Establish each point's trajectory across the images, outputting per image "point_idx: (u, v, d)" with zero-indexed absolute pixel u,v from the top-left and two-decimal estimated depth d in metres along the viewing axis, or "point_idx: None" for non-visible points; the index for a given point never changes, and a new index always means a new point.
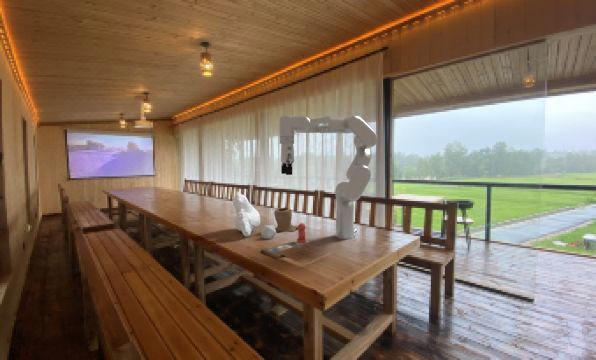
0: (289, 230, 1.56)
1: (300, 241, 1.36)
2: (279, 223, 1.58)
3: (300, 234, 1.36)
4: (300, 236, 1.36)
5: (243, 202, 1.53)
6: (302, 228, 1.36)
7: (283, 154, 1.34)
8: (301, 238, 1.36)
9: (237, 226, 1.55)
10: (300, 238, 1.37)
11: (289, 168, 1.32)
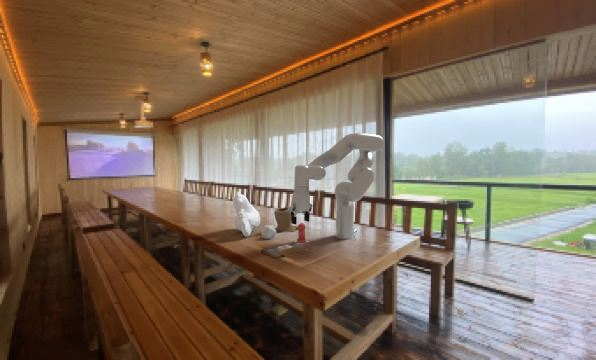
0: (289, 230, 1.56)
1: (300, 241, 1.36)
2: (279, 223, 1.58)
3: (300, 234, 1.36)
4: (300, 236, 1.36)
5: (243, 202, 1.53)
6: (302, 228, 1.36)
7: (307, 203, 1.37)
8: (301, 238, 1.36)
9: (237, 226, 1.55)
10: (300, 238, 1.37)
11: None
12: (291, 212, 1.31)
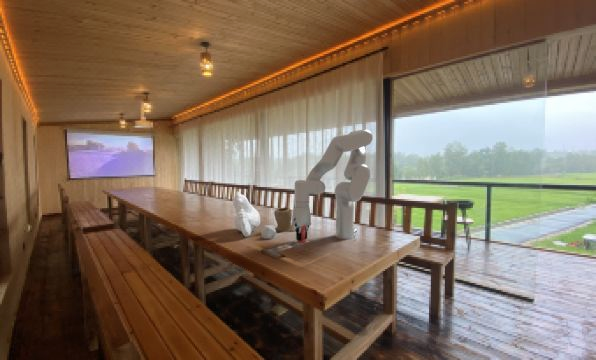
0: (289, 230, 1.56)
1: (300, 241, 1.36)
2: (279, 223, 1.58)
3: None
4: None
5: (243, 202, 1.53)
6: (302, 228, 1.36)
7: (308, 217, 1.37)
8: None
9: (237, 226, 1.55)
10: None
11: None
12: (296, 229, 1.34)
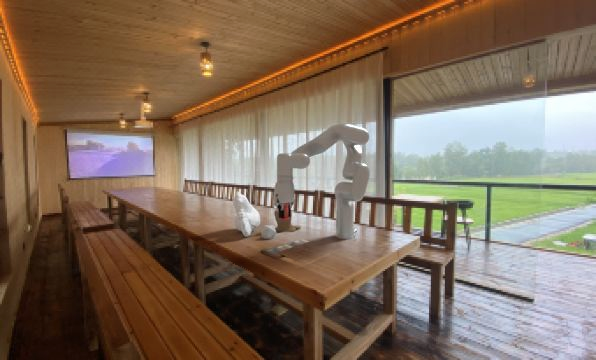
0: (289, 230, 1.56)
1: (283, 219, 1.26)
2: (279, 223, 1.57)
3: None
4: None
5: (243, 202, 1.53)
6: (285, 205, 1.26)
7: (291, 193, 1.28)
8: (284, 216, 1.27)
9: (237, 226, 1.55)
10: None
11: None
12: (278, 205, 1.24)
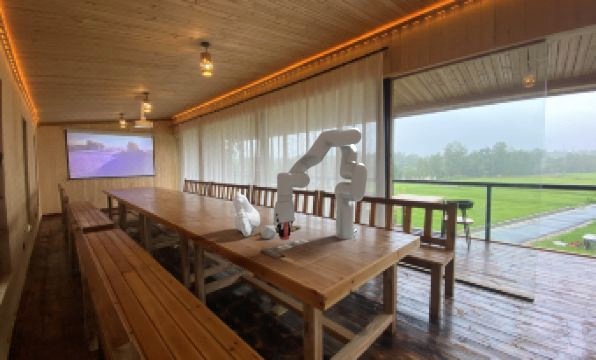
0: None
1: (282, 238, 1.27)
2: None
3: None
4: None
5: (243, 202, 1.53)
6: (285, 224, 1.27)
7: (291, 212, 1.28)
8: None
9: (237, 226, 1.55)
10: None
11: None
12: (278, 225, 1.24)
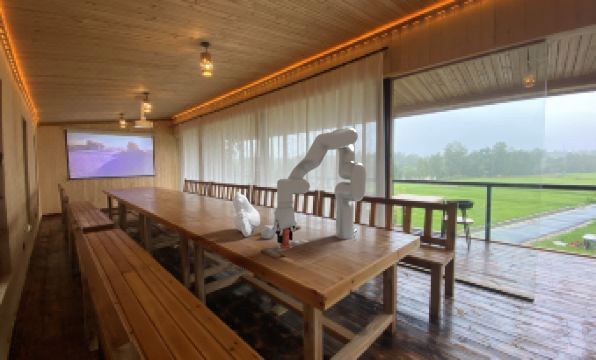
0: None
1: (283, 247, 1.27)
2: None
3: (283, 239, 1.28)
4: (283, 241, 1.28)
5: (243, 202, 1.53)
6: (285, 233, 1.27)
7: (291, 219, 1.29)
8: (284, 243, 1.28)
9: (237, 226, 1.55)
10: (283, 243, 1.28)
11: None
12: (276, 231, 1.24)
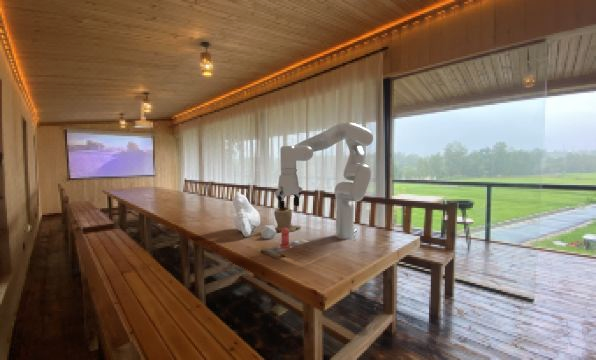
0: (289, 230, 1.56)
1: (283, 247, 1.27)
2: (279, 223, 1.58)
3: (283, 239, 1.28)
4: (283, 241, 1.28)
5: (243, 202, 1.53)
6: (285, 233, 1.27)
7: (295, 186, 1.28)
8: (284, 243, 1.28)
9: (237, 226, 1.55)
10: (283, 243, 1.28)
11: None
12: (278, 196, 1.22)
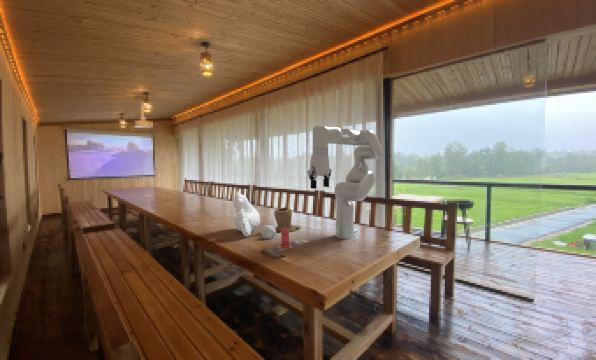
0: (289, 230, 1.56)
1: (283, 247, 1.27)
2: (279, 223, 1.57)
3: (283, 239, 1.28)
4: (283, 241, 1.28)
5: (243, 202, 1.53)
6: (285, 233, 1.27)
7: (327, 166, 1.28)
8: (284, 243, 1.28)
9: (237, 226, 1.55)
10: (283, 243, 1.28)
11: None
12: (311, 175, 1.23)
